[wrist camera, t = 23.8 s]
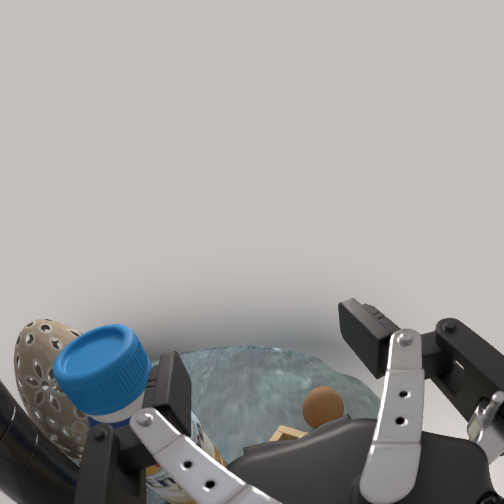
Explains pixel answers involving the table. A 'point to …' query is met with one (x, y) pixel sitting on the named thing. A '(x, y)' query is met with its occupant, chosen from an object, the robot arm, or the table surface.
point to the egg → (322, 406)
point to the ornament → (38, 398)
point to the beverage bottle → (118, 391)
